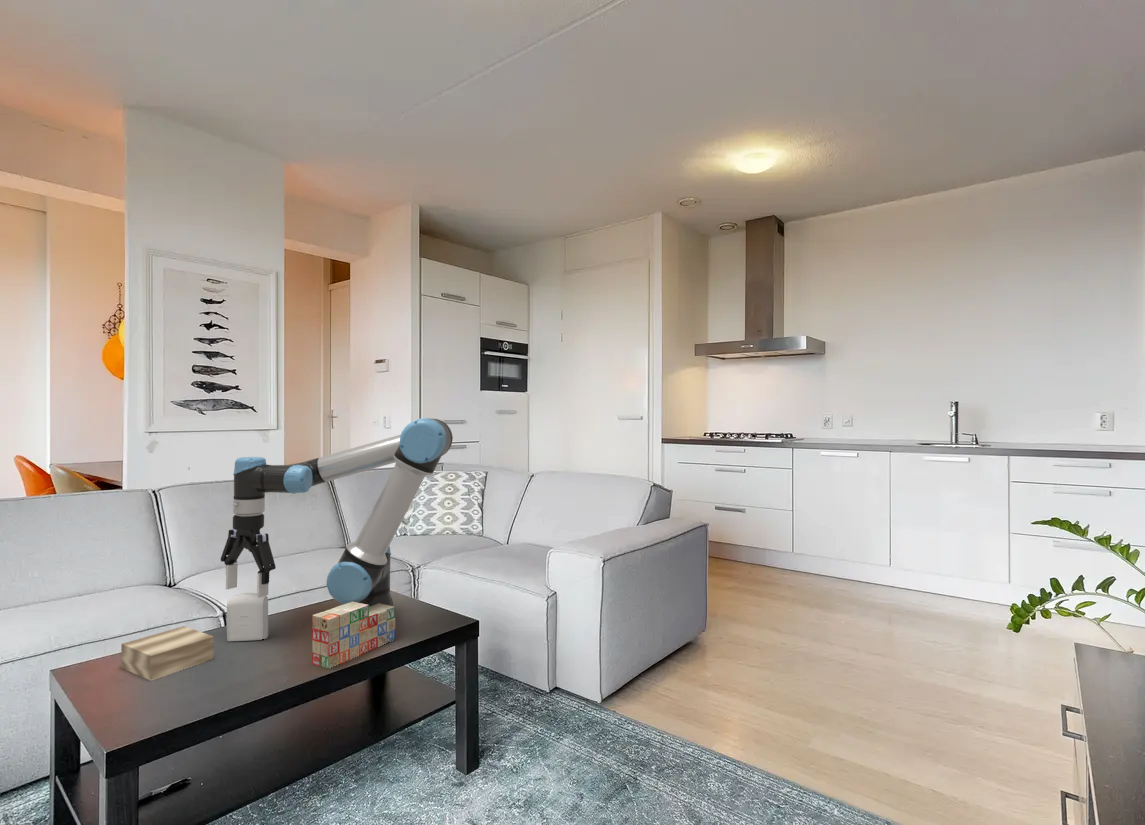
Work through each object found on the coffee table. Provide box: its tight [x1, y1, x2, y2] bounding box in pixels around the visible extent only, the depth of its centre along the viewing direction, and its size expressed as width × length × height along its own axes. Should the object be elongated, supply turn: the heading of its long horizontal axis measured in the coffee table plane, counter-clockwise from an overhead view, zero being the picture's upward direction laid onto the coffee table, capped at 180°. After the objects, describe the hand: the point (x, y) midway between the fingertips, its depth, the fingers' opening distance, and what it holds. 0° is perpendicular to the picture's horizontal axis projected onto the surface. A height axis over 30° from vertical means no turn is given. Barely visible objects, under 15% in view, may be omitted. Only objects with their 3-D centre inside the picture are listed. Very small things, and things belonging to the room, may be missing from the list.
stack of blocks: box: [311, 601, 396, 669], centre depth 152 cm, size 21×6×12 cm, turn 151°
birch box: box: [120, 625, 215, 681], centre depth 144 cm, size 14×14×6 cm
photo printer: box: [226, 592, 269, 642], centre depth 160 cm, size 10×4×12 cm, turn 97°
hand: (246, 592), depth 160 cm, fingers open, 13 cm apart
